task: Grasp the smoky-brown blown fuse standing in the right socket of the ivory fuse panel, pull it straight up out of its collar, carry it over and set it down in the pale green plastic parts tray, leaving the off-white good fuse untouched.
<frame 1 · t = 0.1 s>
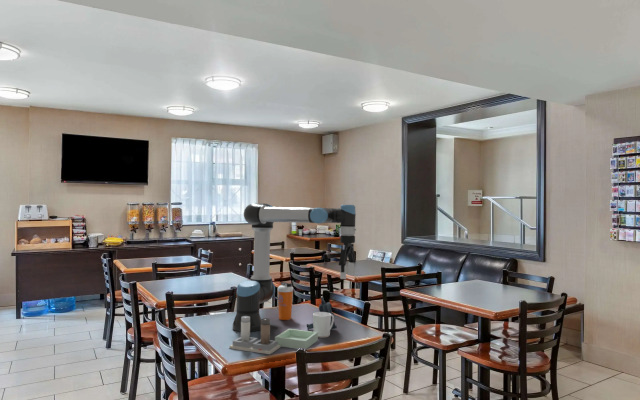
hand: (347, 277, 214), 28 cm above the table, fingers open, 13 cm apart
good fuse: (245, 344, 189), point 1 cm above the table, touching fuse panel
blown fuse: (265, 347, 185), point 1 cm above the table, touching fuse panel
parts tray: (296, 342, 195), on the table
gun: (321, 330, 218), on the table
fuse panel: (254, 347, 187), on the table
shaker bottle: (284, 318, 239), on the table
mug: (323, 335, 209), on the table
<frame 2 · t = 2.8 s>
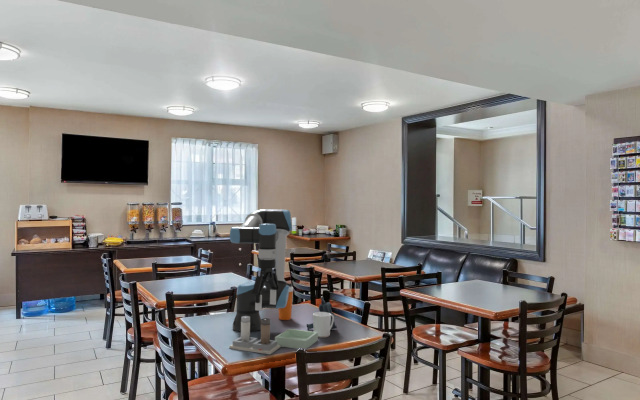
hand: (265, 307, 186), 18 cm above the table, fingers open, 13 cm apart
nothing on the table moved.
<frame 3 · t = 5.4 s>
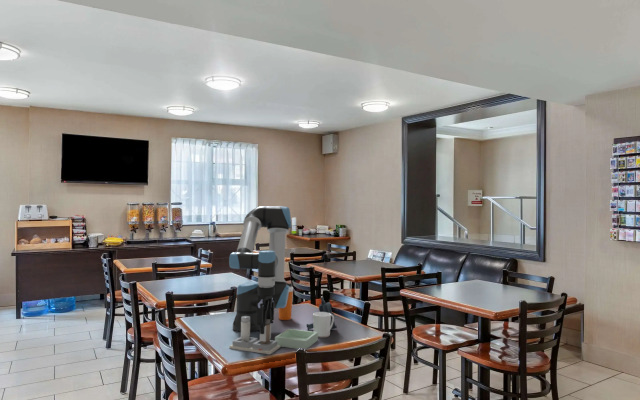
hand: (265, 339, 186), 4 cm above the table, fingers closed on blown fuse, 4 cm apart
blown fuse: (265, 346, 186), point 1 cm above the table, touching gripper
everything else where it was.
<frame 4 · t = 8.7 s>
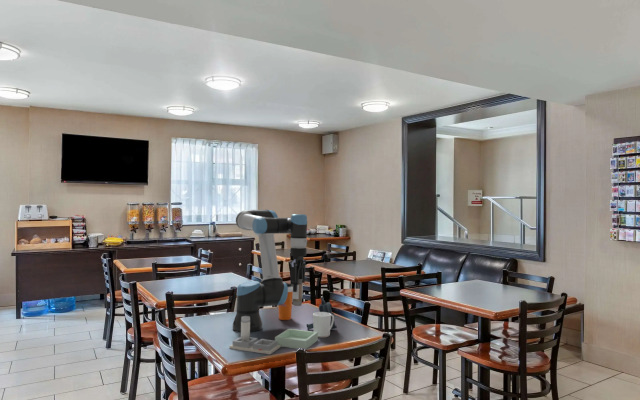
hand: (297, 297, 196), 21 cm above the table, fingers closed on blown fuse, 4 cm apart
blown fuse: (297, 305, 196), point 17 cm above the table, touching gripper
everything else where it was.
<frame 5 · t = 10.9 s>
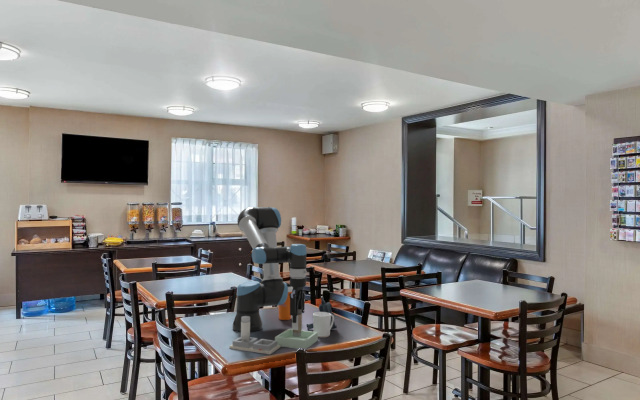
hand: (297, 328, 195), 7 cm above the table, fingers closed on blown fuse, 4 cm apart
blown fuse: (297, 335, 195), point 3 cm above the table, touching gripper
everything else where it was.
when the fingers open (4 cm above the table, at t = 12.2 s): blown fuse stays where it is, resting on parts tray.
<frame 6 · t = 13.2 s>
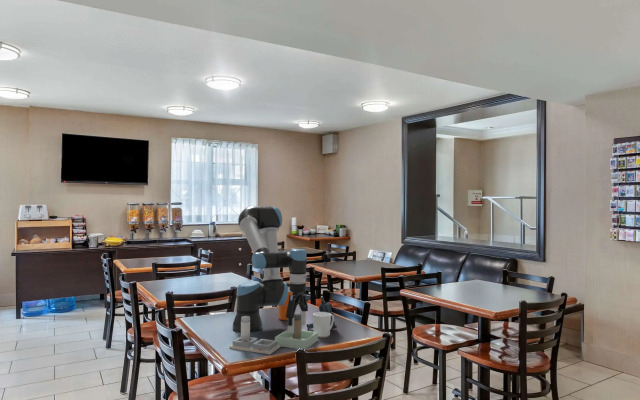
hand: (296, 328, 196), 6 cm above the table, fingers open, 13 cm apart
blown fuse: (296, 341, 195), point 1 cm above the table, touching parts tray
everything else where it was.
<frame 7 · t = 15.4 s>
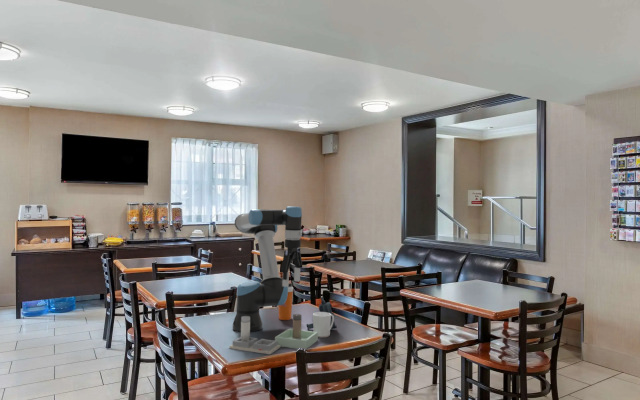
hand: (291, 283, 200), 26 cm above the table, fingers open, 13 cm apart
nothing on the table moved.
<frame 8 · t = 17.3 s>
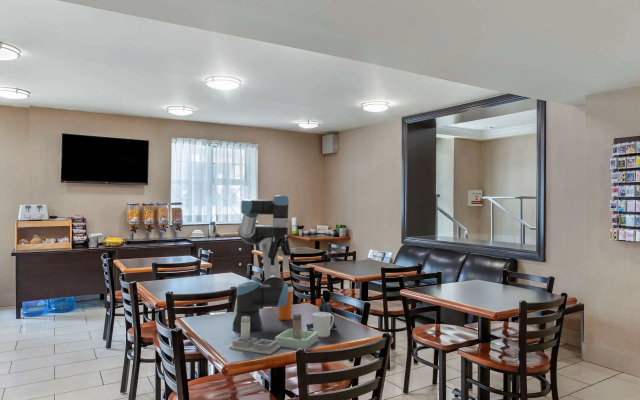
hand: (279, 270, 207), 32 cm above the table, fingers open, 13 cm apart
nothing on the table moved.
at the end: blown fuse inside the target area on the parts tray (0.0 cm from its centre), point 0.8 cm above the parts tray's base; the gripper is holding nothing; good fuse moved 0.0 cm from its start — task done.
